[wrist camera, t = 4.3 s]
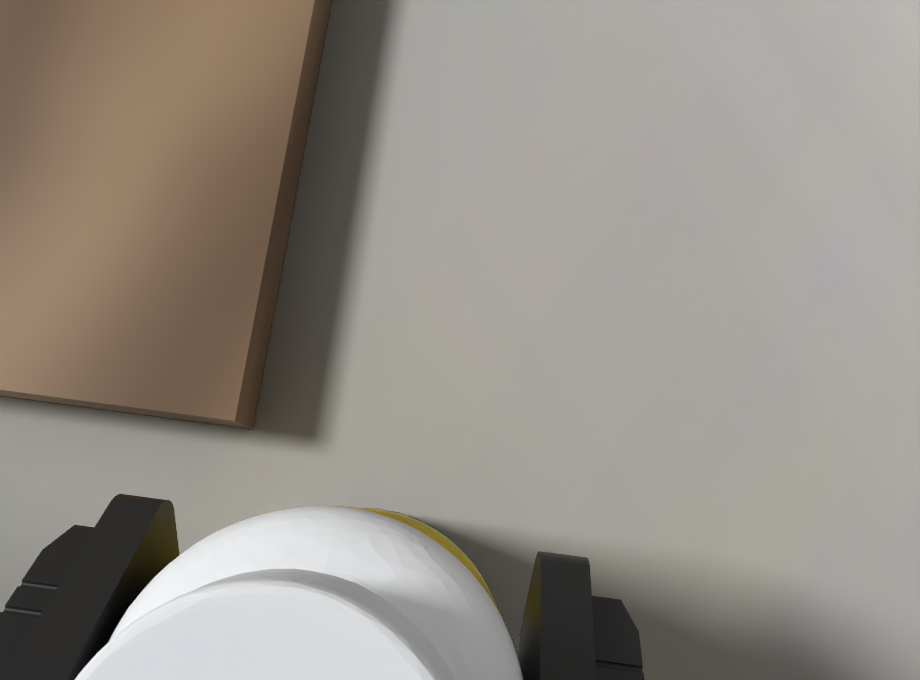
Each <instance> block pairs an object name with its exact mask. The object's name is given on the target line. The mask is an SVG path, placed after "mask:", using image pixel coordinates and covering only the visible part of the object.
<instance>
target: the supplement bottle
mask: <svg viewBox="0 0 920 680" xmlns="http://www.w3.org/2000/svg"><path fill="white" fill-rule="evenodd" d="M75 680H523V676H522V672H521V668H520V664H519V661H518V658H517V655H516V652H515V649H514V646H513V642H512V639H511V636H510V634H509V632H508V629H507V627H506V625H505V622H504V620H503V618H502V616H501V614H500V612H499V609H498V607H497V605H496V603H495V601H494V599H493V597H492V594H491V592H490V590H489V589H488V586H487V585H486V583H485V581H484V579H483V577H482V576H481V574H480V573H479V571H478V569H477V568H476V567H475V565H474V564H473V562H472V561H471V560H470V559H469V557H468V556H467V555H466V554H465V553H464V552H463V551H462V550H461V549H460V548H459V547H458V546H457V545H456V544H455V543H454V542H453V541H452V540H451V539H450V538H448V537H447V536H446V535H444V534H443V533H441V532H440V531H438V530H437V529H435V528H434V527H432V526H430V525H428V524H426V523H424V522H422V521H420V520H418V519H416V518H413V517H410V516H407V515H404V514H401V513H398V512H393V511H387V510H382V509H372V508H352V507H344V506H319V505H317V506H307V507H297V508H291V509H284V510H278V511H273V512H269V513H266V514H262V515H258V516H255V517H252V518H249V519H246V520H243V521H240V522H237V523H235V524H232V525H230V526H228V527H225V528H223V529H221V530H219V531H217V532H215V533H213V534H211V535H209V536H207V537H206V538H204V539H202V540H201V541H199V542H197V543H196V544H194V545H193V546H191V547H190V548H189V549H187V550H186V551H185V552H183V553H182V554H181V555H179V556H178V557H177V558H176V559H174V560H173V561H172V562H170V563H169V564H168V565H167V566H166V567H165V568H164V569H163V570H162V571H160V572H159V573H158V574H157V575H156V576H155V577H154V578H153V579H152V580H151V582H150V583H149V584H148V585H147V586H146V587H145V588H144V589H143V590H142V592H141V593H140V594H139V595H138V597H137V598H136V599H135V600H134V601H133V603H132V604H131V605H130V606H129V608H128V609H127V611H126V612H125V614H124V616H123V617H122V619H121V620H120V622H119V624H118V625H117V627H116V629H115V631H114V632H113V634H112V636H111V637H110V640H109V642H108V643H107V644H106V645H105V646H104V647H103V648H102V649H101V650H100V651H99V652H98V653H97V654H96V655H95V656H94V657H93V658H92V659H91V660H90V662H89V663H88V664H87V665H86V666H85V667H84V668H83V670H82V671H81V672H80V673H79V674H78V676H77V677H76V679H75Z"/></svg>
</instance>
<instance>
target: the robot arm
mask: <svg viewBox="0 0 920 680" xmlns="http://www.w3.org/2000/svg"><path fill="white" fill-rule="evenodd" d="M178 556H179V548H178V540H177V531H176V522H175V514H174V507H173V504H172V502H171V501H169V500H162V499H155V498H147V497H140V496H132V495H125V494H119V495H117V496H115V497H114V498H113V499H112V501H111V502H110V504H109V505H108V507H107V508H106V510H105V512H104V513H103V515H102V516H101V518H100V520H99V521H98V523H97V524H96V526H95V528H94V527H86V526H79V525H74V526H73V527H71V528H70V529H69V530H67V531H66V532H65V533H64V534H62V535H61V536H60V537H58V538H57V539H56V540H55V541H53V542H52V543H51V544H49V545H48V546H47V547H46V548H44V549H43V550H42V551H41V553H40V554H39V556H38V557H37V559H36V560H35V562H34V563H33V565H32V566H31V568H30V569H29V571H28V572H27V574H26V575H25V577H24V578H23V580H22V584H21V586H20V587H17V589H16V590H15V592H14V593H13V595H12V596H11V598H10V599H9V600H8V602H7V603H6V605H5V610H4V612H0V680H75V679H76V677H77V676H78V674H79V673H80V672H81V671H82V670H83V668H84V667H85V666H86V665H87V664H88V663H89V662H90V660H91V659H92V658H93V657H94V656H95V655H96V654H97V653H98V652H99V651H100V650H101V649H102V648H103V647H104V646H105V645H106V644H107V643H108V642H109V640H110V637H111V636H112V634H113V632H114V631H115V629H116V627H117V625H118V624H119V622H120V620H121V619H122V617H123V616H124V614H125V612H126V611H127V609H128V608H129V606H130V605H131V604H132V603H133V601H134V600H135V599H136V598H137V597H138V595H139V594H140V593H141V592H142V590H143V589H144V588H145V587H146V586H147V585H148V584H149V583H150V582H151V580H152V579H153V578H154V577H155V576H156V575H157V574H158V573H159V572H160V571H162V570H163V569H164V568H165V567H166V566H167V565H168V564H169V563H170V562H172V561H173V560H174V559H176V558H177V557H178ZM518 661H519V664H520V668H521V672H522V676H523V680H644V673H642V667H643V665H642V656H641V648H640V639H639V632H638V630H637V628H636V626H635V624H634V623H633V621H632V619H631V617H630V616H629V614H628V612H627V610H626V608H625V607H624V605H623V603H622V601H621V600H618V599H611V598H603V597H596V596H592V595H591V579H590V565H589V560H588V558H585V557H578V556H570V555H563V554H555V553H548V552H541V551H539V552H538V553H537V556H536V560H535V565H534V569H533V574H532V578H531V583H530V588H529V592H528V597H527V601H526V606H525V611H524V615H523V621H522V627H521V634H520V644H519V658H518Z"/></svg>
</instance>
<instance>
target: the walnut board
mask: <svg viewBox="0 0 920 680" xmlns="http://www.w3.org/2000/svg"><path fill="white" fill-rule="evenodd" d="M331 2H332V0H0V396H7V397H15V398H22V399H30V400H37V401H45V402H52V403H60V404H67V405H75V406H82V407H90V408H97V409H105V410H112V411H120V412H127V413H135V414H142V415H150V416H157V417H165V418H172V419H180V420H187V421H195V422H202V423H210V424H217V425H225V426H232V427H240V428H247V429H253V424H254V419H255V414H256V408H257V403H258V397H259V392H260V386H261V381H262V376H263V370H264V365H265V359H266V354H267V349H268V343H269V338H270V332H271V327H272V322H273V316H274V311H275V305H276V300H277V294H278V289H279V284H280V278H281V273H282V267H283V262H284V257H285V251H286V246H287V240H288V235H289V230H290V224H291V219H292V213H293V208H294V202H295V197H296V192H297V186H298V181H299V175H300V170H301V165H302V159H303V154H304V148H305V143H306V138H307V132H308V127H309V121H310V116H311V110H312V105H313V100H314V94H315V89H316V83H317V78H318V73H319V67H320V62H321V56H322V51H323V45H324V40H325V35H326V29H327V24H328V18H329V13H330V8H331Z"/></svg>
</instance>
